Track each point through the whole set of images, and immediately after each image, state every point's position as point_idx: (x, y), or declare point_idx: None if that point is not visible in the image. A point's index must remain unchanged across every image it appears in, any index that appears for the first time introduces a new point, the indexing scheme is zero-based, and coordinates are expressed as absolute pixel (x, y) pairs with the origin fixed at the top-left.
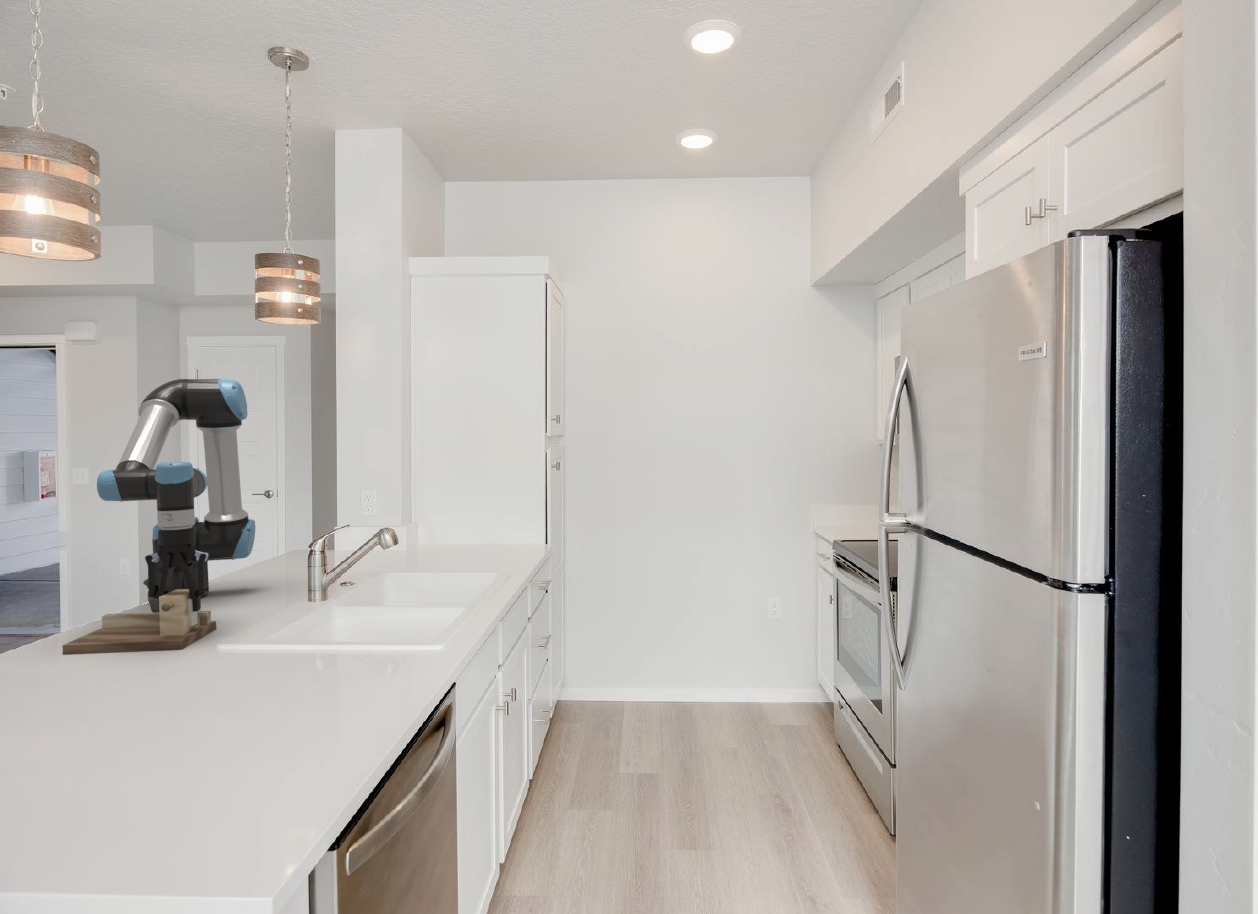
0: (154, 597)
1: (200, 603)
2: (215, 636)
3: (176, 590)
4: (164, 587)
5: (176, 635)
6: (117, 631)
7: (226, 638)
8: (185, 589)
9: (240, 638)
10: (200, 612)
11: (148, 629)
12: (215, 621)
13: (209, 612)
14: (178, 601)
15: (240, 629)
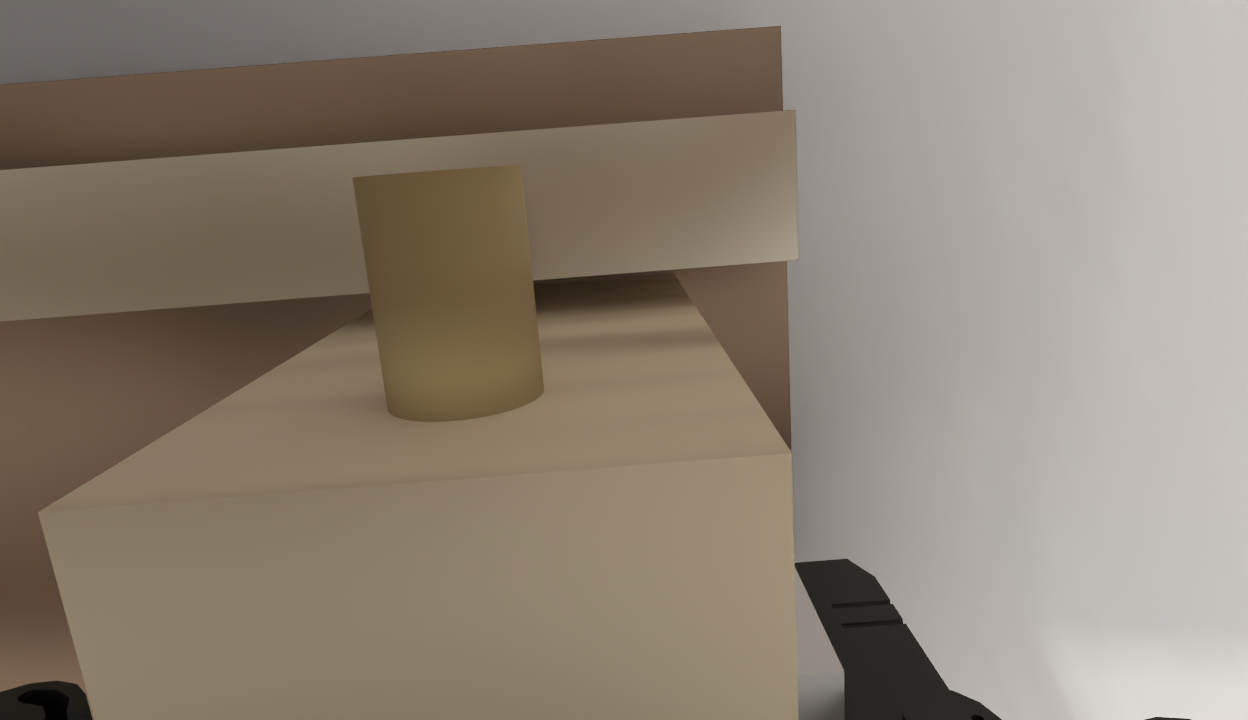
0: None
1: (907, 628)
2: (899, 376)
3: (156, 662)
4: None
5: None
6: None
7: (1055, 460)
8: (374, 532)
9: (1205, 469)
10: (678, 240)
11: (93, 425)
12: (780, 46)
13: (791, 162)
14: None
15: (1075, 83)
